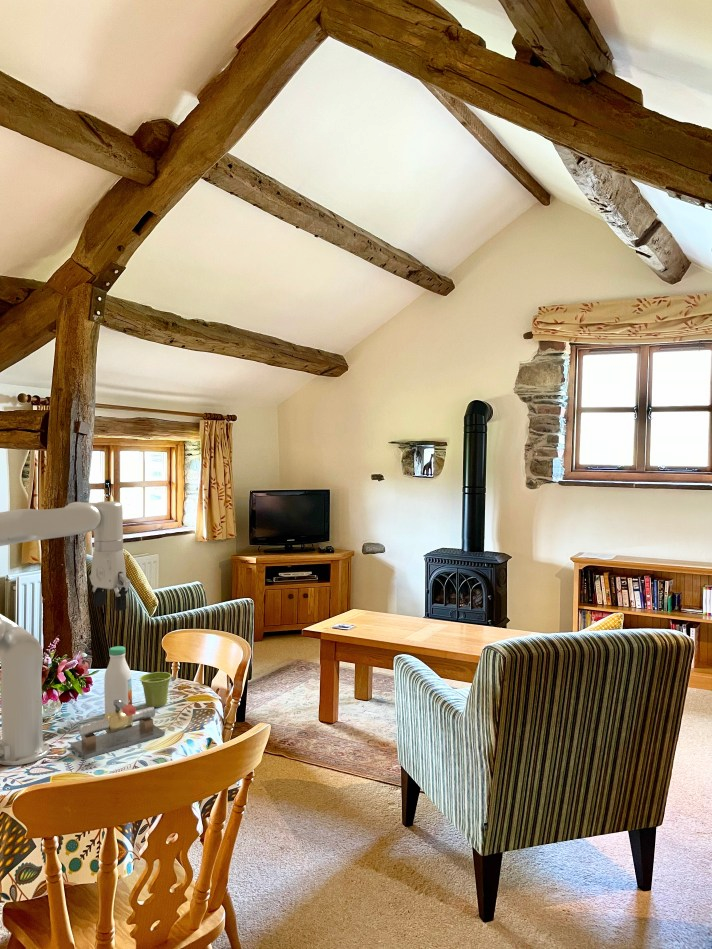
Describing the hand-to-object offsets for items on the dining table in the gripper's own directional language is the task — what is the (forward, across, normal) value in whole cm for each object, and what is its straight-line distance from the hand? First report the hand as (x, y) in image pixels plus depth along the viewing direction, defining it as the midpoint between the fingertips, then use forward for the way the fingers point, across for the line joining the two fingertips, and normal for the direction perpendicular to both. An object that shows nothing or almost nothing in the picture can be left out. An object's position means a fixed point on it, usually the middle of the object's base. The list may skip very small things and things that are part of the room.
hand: (110, 607), depth 195 cm
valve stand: (+35, +6, -2) cm, 36 cm away
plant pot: (+35, -8, +21) cm, 42 cm away
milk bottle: (+35, -11, +10) cm, 38 cm away
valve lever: (+25, +10, -3) cm, 27 cm away
